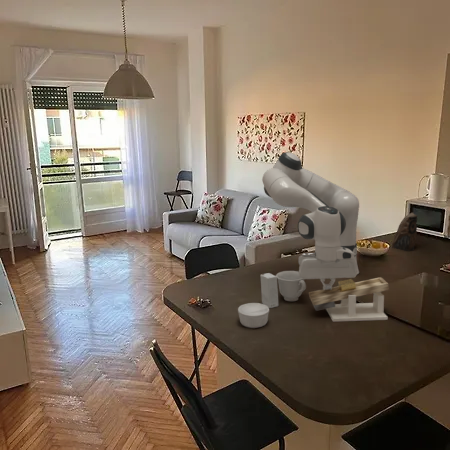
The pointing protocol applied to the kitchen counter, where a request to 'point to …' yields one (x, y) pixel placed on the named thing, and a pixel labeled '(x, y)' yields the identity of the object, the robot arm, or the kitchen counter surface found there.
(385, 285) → the beam
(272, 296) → the skincare box
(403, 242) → the owl
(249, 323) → the ramekin
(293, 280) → the teacup
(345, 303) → the pivot stand
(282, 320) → the kitchen counter surface
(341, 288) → the tan rectangular block
